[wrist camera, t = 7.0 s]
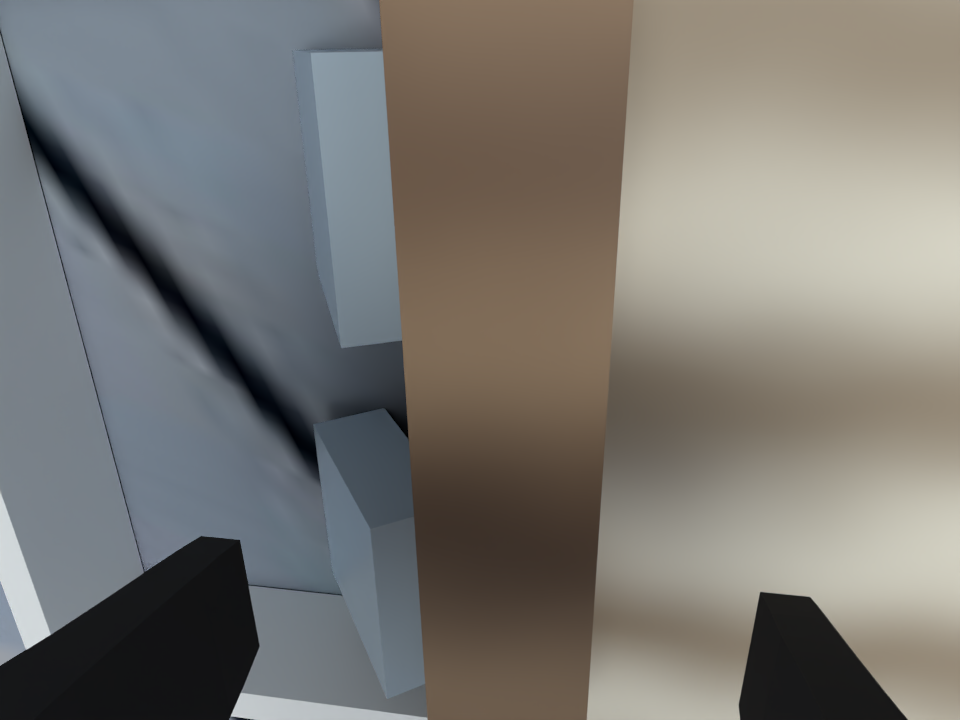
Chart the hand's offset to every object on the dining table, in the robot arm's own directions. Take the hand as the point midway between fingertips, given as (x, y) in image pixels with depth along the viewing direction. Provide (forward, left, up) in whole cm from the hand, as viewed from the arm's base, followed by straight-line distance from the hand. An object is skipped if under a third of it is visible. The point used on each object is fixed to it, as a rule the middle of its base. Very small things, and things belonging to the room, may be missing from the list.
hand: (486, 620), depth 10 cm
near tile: (+5, +3, -7) cm, 9 cm away
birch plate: (0, -5, -9) cm, 11 cm away
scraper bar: (0, 0, -6) cm, 6 cm away
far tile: (-4, +3, -7) cm, 9 cm away
